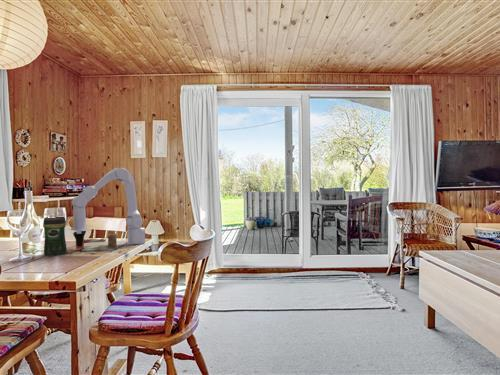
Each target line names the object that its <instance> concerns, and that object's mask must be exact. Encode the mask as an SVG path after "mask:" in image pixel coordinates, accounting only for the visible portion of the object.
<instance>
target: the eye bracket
mask: <svg viewBox="0 0 500 375" xmlns="http://www.w3.org/2000/svg"><path fill="white" fill-rule="evenodd" d="M117 239H118V238H117V233H114V232H113V233H107V244H96V245H84V248H83V249H81V253H89V252H100V251H112V250H113V251H115V250H119V247H118V241H117Z"/></svg>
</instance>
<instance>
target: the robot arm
mask: <svg viewBox="0 0 500 375" xmlns="http://www.w3.org/2000/svg"><path fill="white" fill-rule="evenodd" d="M116 180H117V181H119V182H121V183H122V184H124V189H125V197H126V198H125V199H126V205H127V213H126V218H125V223H126V225H127V241H126V244H127V245H128V246H129V245H141V244H142V245H143V244H146V228H145V227H142V225H143V222H144V221H143V219H142V217H141V214H140V211H139V210H138V201H137V194H136V192H137V190H136V183H135V179H134V178H133V176H132V175H131V174H130V172H129V170H128V169H126V168H125V167H115V168H112V169H111V170H110V171H108V172H107V173H106V174H104V175H103V176H102V177H101V178H100V179H99V180H98V181H97V182H96V183H95V184H94V185H89V186H85V188H84V190H83V191H81V192H80V193H78V194H77V195H78V196H74V198H72V201H71V205H72V206H73V212H72V213H73V214H72V218H73V221H72V222H73V224H72V225H73V226H72V227H71V228H70V231H73V233H72V235H73V236H74V239H75V244H76V243H77V247H81V246H82V244H83V238H84V239H85V235H86V234H87V220H86V219H87V218H86V216H87V215H86V212H87V211H86V206H87V205H88V203H89V202H90V201H91V200H92V199H93V198H95V197H96V196H97V195H98V194H99V190H100V189H102V188H103V187H104V186H106V184H108V183H110V182H111V181H116Z"/></svg>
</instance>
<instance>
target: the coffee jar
mask: <svg viewBox="0 0 500 375" xmlns="http://www.w3.org/2000/svg"><path fill="white" fill-rule="evenodd" d="M48 217H49V216H47V217H44V219H43V223H42V226H43V229H44V244H43V255H44V256H49V257H51V256H61V255H63V254H66V253H67V251H68V249H67V241H66V235H65V234H66V232H65V231H66V230H65V228H66V226H67V221H66V217H65V216H64V217H56V218H48Z"/></svg>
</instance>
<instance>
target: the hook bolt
mask: <svg viewBox="0 0 500 375" xmlns="http://www.w3.org/2000/svg"><path fill="white" fill-rule="evenodd" d="M106 240H107V239H106V238H104V237H101V238H87V239H85V237H84V238H83V244H82V246H81V247H77V243H76V242H75V250H79V249H80V250H82V249H83V248H84V246H85V244H90V243H104V242H106Z"/></svg>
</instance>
